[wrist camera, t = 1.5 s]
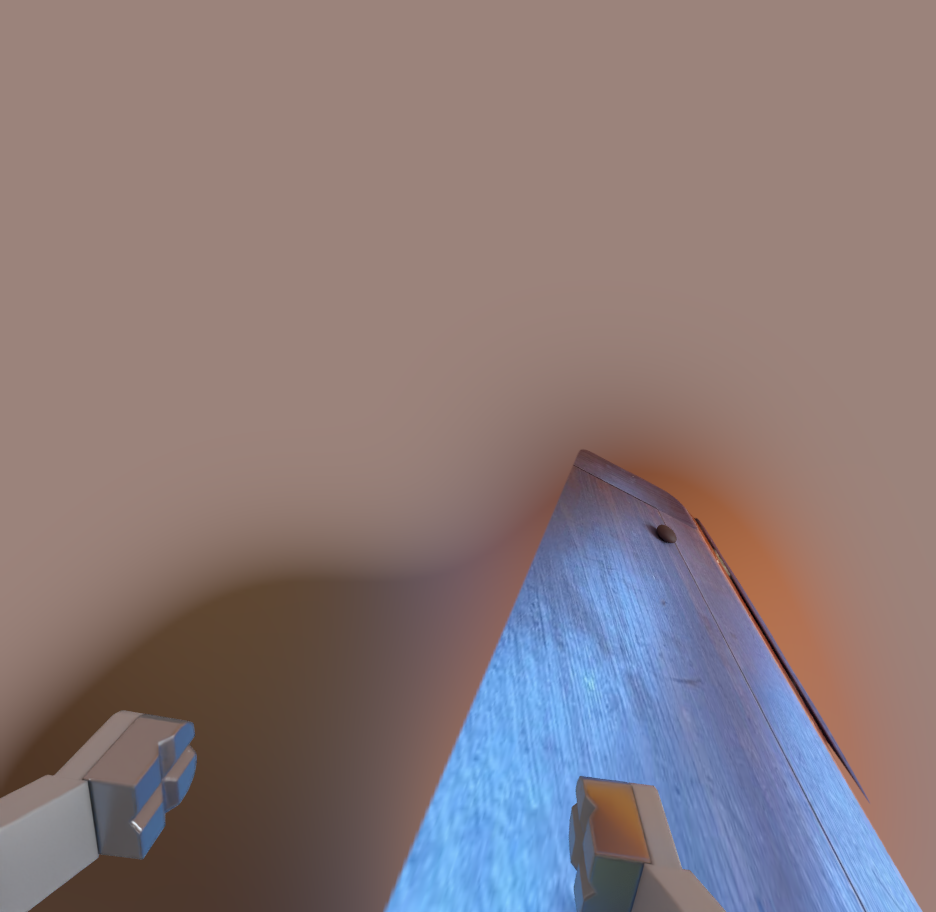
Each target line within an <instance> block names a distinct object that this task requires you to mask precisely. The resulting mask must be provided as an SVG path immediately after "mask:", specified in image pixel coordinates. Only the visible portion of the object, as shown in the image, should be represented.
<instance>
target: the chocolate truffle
mask: <svg viewBox="0 0 936 912" xmlns="http://www.w3.org/2000/svg"><path fill="white" fill-rule="evenodd" d="M657 532H658V534H659V536H660V537H661V538H662V539H663V540H664V541H666V542H668V543H674V542H676V535H675V533H674V532H673V530H672V529H670V528H669V527H667V526H665V525H659V526H658V527H657Z"/></svg>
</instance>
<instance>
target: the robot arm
mask: <svg viewBox="0 0 936 912" xmlns="http://www.w3.org/2000/svg"><path fill="white" fill-rule="evenodd" d="M194 733H195V732H194V725H193V723H191V722H189V721H184V720H179V719H173V718H167V717H161V716H155V715H149V714H141V713H136V712H130V711H123V710H122V711H120V712H118V713H116V714H114V715H113V716H111V718H110V719H109V720H108V721H107V722H106V723H105V724H104V725H103V726H102V727H101V728H100V729H99V730H98V731H97V732H96V733H95V734H94V735H93V736H92V737H91V738H90V739H89V740H88V741H87V742H86V743H85V744H84V746H82V748H80V750H78V752H77V753H76V754H75V755H74V756H73V757H72V758H71V759H70V760H69V761H68V762H67V763H66V764H65V765H64V766H63V767H62V768H61V769H60V770H59V771H58V772H57V773H56V774H55V775H54V776H51V775H46V776H44V777H42V778H40V779H38V780H36V781H34V782H32V783H30V784H28V785H26V786H24V787H22V788H20V789H18V790H16V791H14V792H12V793H10V794H8V795H6V796H4V797H2V798H0V912H27V911H29V910H30V909H31V908H32V907H34V906H35V905H36V904H38V903H39V902H40V901H42V900H43V899H44V898H46V897H47V896H48V895H50V894H51V893H52V892H54V891H55V890H56V889H57V888H59V887H60V886H61V885H63V884H64V883H65V882H67V881H68V880H69V879H71V878H72V877H73V876H75V875H76V874H77V873H78V872H80V871H81V870H82V869H84V868H85V867H86V866H88V865H89V864H90V863H92V862H93V861H94V860H95V859H97V858H98V857H99V854H102V855H111V856H119V857H127V858H137V859H143V858H144V857H145V855H146V854H147V852H148V851H149V849H150V848H151V846H152V845H153V843H154V841H155V840H156V839H157V837H158V836H159V834H160V833H161V831H162V830H163V828H164V827H165V813H166V812H168V811H169V810H171V809H172V808H174V807H175V806H177V805H179V804H180V802H181V801H182V799H183V797H184V796H185V794H186V793H187V791H188V789H189V786H190V784H191V782H192V779H193V777H194V774H195V768H196V762H197V761H196V752H195V751H194V749H193V748H192V747H191V746H190V744H189V743H190V742H191V740H192V739H193V737H194V736H195V734H194ZM576 798H577V803H576V804H575V805H574V806H573V807H572V810H571V816H570V824H569V850H570V859H571V863H572V865H573V866H574V868H575V869H576V870H577V873H576V878H575V883H574V895H575V903H576V912H726V911H725V910H724V909H723V907H722V906H721V905H720V904H719V903H718V902H717V901H716V899H715V898H714V897H713V896H712V895H711V894H710V893H709V891H708V890H707V889H706V888H705V887H704V886H703V885H702V883H701V882H700V881H699V880H698V879H697V878H696V877H695V875H694V874H693V873H692V872H691V871H690V870H685V869H682V867H681V863H680V860H679V857H678V854H677V851H676V848H675V844H674V841H673V838H672V835H671V832H670V829H669V825H668V822H667V819H666V816H665V813H664V809H663V806H662V803H661V800H660V797H659V794H658V791H657V789H656V788H655V787H654V786H651V785H644V784H636V783H627V782H623V781H615V780H607V779H600V778H592V777H584V776H580V777H579V779H578V781H577V785H576Z"/></svg>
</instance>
